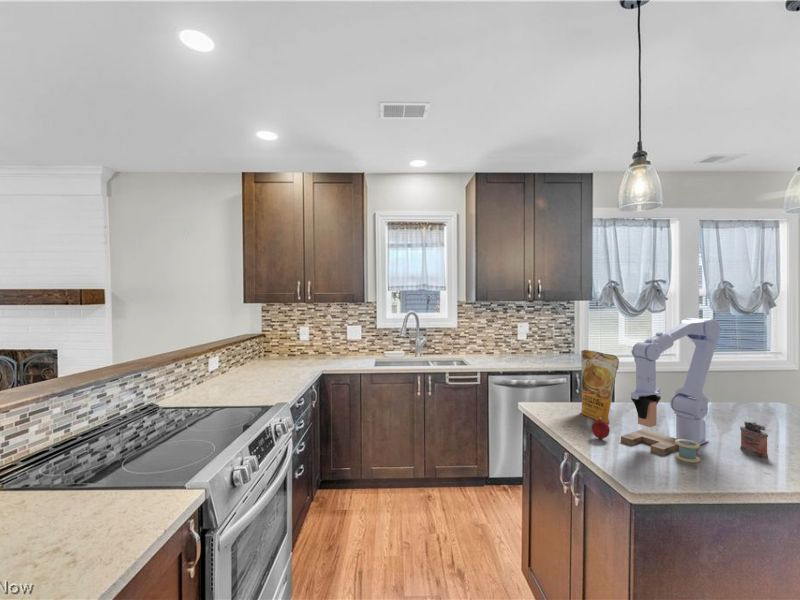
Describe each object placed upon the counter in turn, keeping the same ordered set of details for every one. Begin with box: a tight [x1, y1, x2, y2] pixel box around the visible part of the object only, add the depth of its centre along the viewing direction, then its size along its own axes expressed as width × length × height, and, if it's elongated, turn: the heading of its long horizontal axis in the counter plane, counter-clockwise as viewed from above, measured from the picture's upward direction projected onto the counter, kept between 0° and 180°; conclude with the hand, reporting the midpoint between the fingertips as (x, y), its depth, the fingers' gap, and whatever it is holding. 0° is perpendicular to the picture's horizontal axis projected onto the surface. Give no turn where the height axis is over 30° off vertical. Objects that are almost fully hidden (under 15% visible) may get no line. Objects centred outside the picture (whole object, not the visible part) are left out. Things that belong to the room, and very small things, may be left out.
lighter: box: [739, 420, 769, 459], centre depth 126 cm, size 8×3×10 cm, turn 5°
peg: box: [637, 401, 658, 428], centre depth 132 cm, size 4×4×8 cm
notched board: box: [620, 428, 679, 456], centre depth 135 cm, size 14×14×2 cm
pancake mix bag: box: [580, 349, 620, 424], centre depth 164 cm, size 7×19×28 cm, turn 13°
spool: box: [674, 439, 701, 464], centre depth 123 cm, size 6×6×5 cm
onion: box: [591, 417, 611, 440], centre depth 140 cm, size 6×6×8 cm
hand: (645, 417), depth 133 cm, fingers closed on peg, 4 cm apart
